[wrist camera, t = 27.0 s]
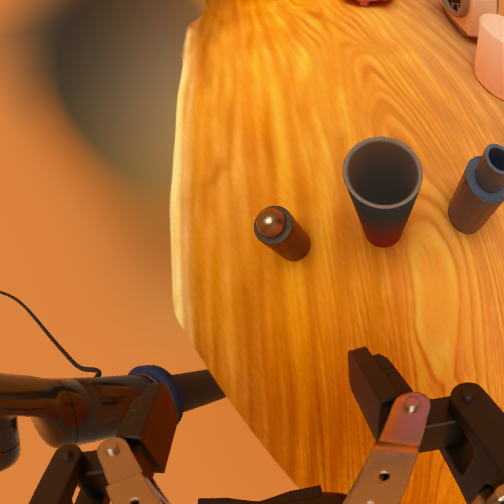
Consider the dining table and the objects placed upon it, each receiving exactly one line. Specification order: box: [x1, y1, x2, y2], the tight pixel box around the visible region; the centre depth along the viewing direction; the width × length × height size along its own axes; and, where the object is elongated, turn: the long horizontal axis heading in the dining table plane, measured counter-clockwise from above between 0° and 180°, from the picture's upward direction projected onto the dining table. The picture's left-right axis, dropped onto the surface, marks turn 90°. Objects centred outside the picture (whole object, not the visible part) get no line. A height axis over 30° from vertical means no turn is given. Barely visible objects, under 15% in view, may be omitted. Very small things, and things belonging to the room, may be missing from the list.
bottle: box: [448, 144, 504, 234], centre depth 24 cm, size 5×5×14 cm
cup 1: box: [343, 137, 423, 247], centre depth 28 cm, size 7×7×15 cm
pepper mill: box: [254, 206, 310, 261], centre depth 34 cm, size 4×4×10 cm
